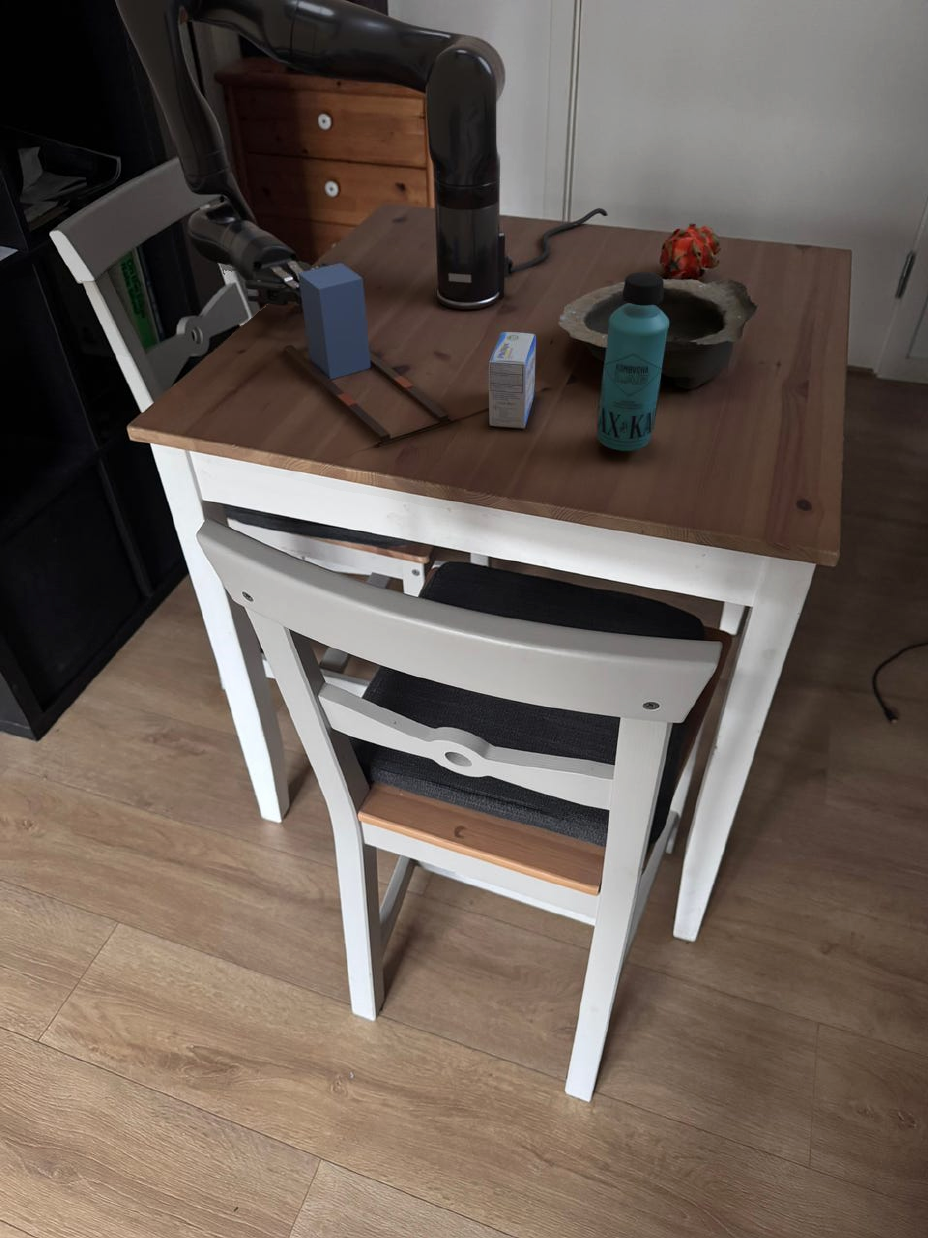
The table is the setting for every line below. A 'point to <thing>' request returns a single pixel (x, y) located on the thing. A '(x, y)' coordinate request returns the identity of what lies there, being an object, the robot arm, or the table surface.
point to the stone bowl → (673, 325)
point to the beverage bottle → (633, 365)
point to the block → (335, 320)
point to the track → (357, 410)
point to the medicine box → (512, 379)
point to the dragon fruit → (690, 253)
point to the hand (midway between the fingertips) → (315, 303)
